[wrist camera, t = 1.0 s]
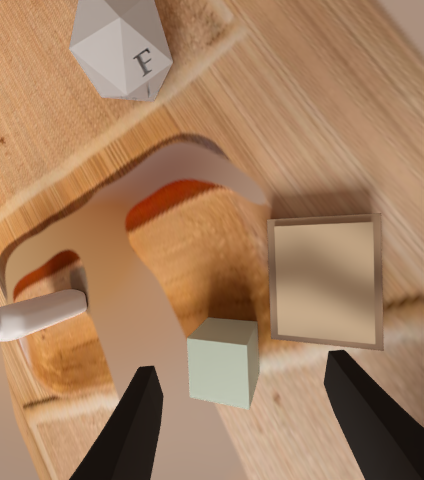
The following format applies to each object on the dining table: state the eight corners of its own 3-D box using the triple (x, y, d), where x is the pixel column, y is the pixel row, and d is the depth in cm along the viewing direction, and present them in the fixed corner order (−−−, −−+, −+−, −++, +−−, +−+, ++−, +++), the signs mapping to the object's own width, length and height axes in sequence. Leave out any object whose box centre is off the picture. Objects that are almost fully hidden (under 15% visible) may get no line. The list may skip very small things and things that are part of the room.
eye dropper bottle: (84, 327, 30) (-43, 385, 19) (53, 308, 32) (-81, 351, 21) (92, 295, 30) (-35, 337, 18) (59, 277, 31) (-75, 306, 20)
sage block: (259, 372, 23) (249, 409, 19) (210, 365, 25) (189, 397, 20) (257, 321, 23) (246, 345, 18) (208, 317, 25) (187, 338, 20)
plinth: (374, 337, 20) (385, 353, 17) (273, 328, 22) (270, 340, 20) (372, 214, 19) (382, 212, 17) (270, 220, 22) (266, 219, 20)
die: (123, 129, 28) (116, 106, 19) (65, 52, 25) (22, -19, 16) (180, 87, 28) (199, 46, 19) (129, 7, 25) (124, -87, 16)
